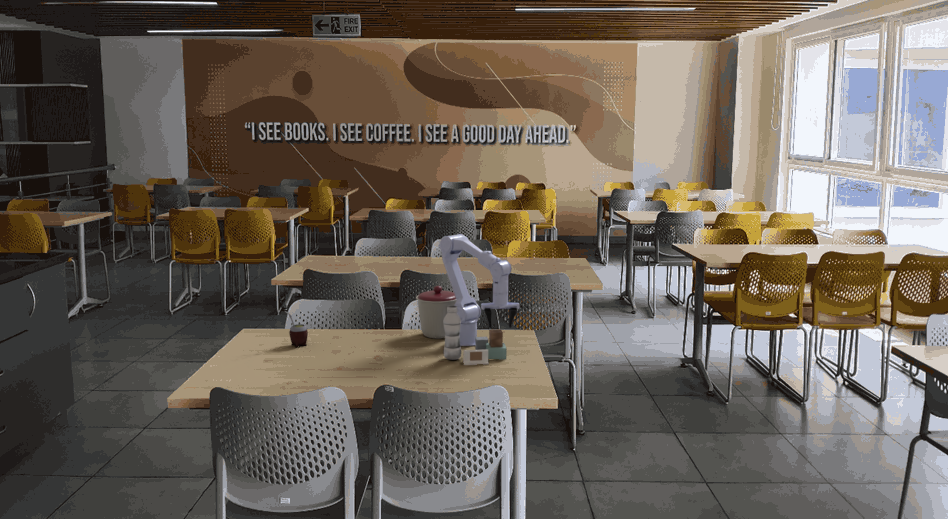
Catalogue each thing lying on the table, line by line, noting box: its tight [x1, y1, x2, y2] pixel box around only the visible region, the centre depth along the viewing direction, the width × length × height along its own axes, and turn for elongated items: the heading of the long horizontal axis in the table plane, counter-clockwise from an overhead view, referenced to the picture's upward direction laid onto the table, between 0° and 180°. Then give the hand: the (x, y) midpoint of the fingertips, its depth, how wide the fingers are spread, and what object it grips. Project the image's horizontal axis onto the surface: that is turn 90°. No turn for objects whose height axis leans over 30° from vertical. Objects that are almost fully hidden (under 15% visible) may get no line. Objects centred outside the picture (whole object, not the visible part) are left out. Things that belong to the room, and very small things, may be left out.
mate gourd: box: [284, 310, 309, 349], centre depth 280 cm, size 8×8×15 cm
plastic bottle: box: [443, 306, 463, 361], centre depth 263 cm, size 6×7×20 cm
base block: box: [486, 342, 508, 360], centre depth 267 cm, size 7×7×4 cm
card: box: [462, 349, 489, 366], centre depth 259 cm, size 9×3×5 cm, turn 97°
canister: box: [415, 285, 457, 339], centre depth 295 cm, size 18×18×21 cm
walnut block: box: [488, 329, 504, 347], centre depth 267 cm, size 4×4×6 cm
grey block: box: [474, 336, 489, 350], centre depth 273 cm, size 4×4×6 cm
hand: (500, 327), depth 273 cm, fingers open, 7 cm apart
